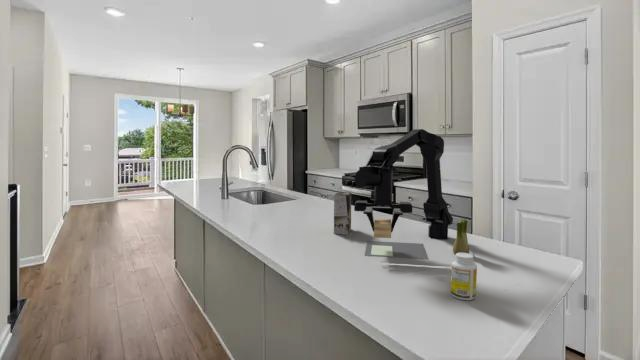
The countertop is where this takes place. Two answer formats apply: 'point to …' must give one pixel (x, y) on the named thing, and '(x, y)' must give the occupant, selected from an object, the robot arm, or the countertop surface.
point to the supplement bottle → (463, 277)
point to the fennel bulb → (461, 238)
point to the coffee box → (342, 213)
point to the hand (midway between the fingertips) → (382, 231)
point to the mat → (395, 250)
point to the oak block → (382, 228)
